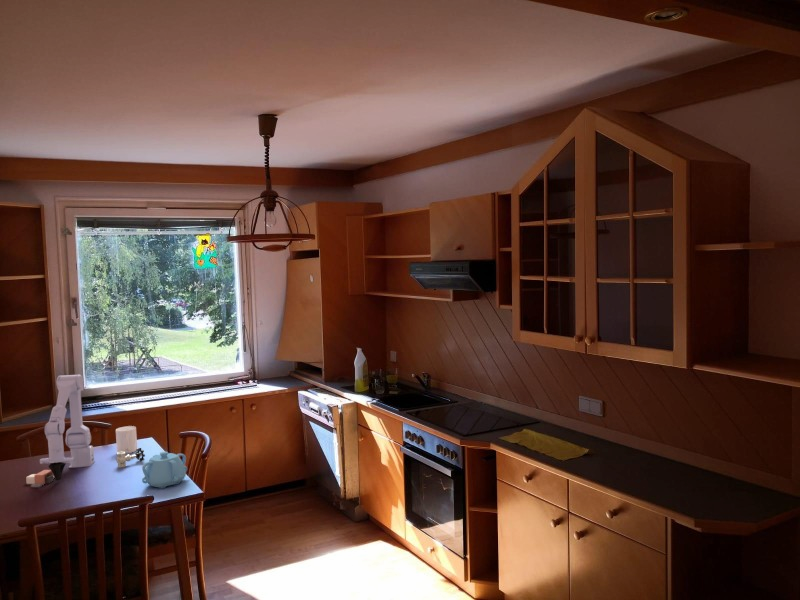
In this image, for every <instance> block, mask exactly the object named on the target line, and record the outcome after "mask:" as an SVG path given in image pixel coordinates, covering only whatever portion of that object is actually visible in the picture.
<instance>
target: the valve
mask: <svg viewBox="0 0 800 600" xmlns="http://www.w3.org/2000/svg"><path fill="white" fill-rule="evenodd" d="M144 451H145V450H144V449H142V447H137V449H136V451H135V452H134V453H135V454H131V455H130V454H125V452H119V453H117V452H116V463H117V467H118V468H119V469H122V468H121V467H123V468H125V467H126V466H127V462H130V461H131V460H134V459H135V458H136V460H138V461H140V462H143V461H145V458H144V457H146V454H145V453H144Z"/></svg>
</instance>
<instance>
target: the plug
mask: <svg viewBox="0 0 800 600" xmlns="http://www.w3.org/2000/svg"><path fill="white" fill-rule="evenodd" d="M36 474H37V473H32V474H29V475H28V476H26V485H32V484H34V483H35V477H34V475H36ZM53 476H54V474H53V475H47V476H45V484H50V482H51V483H53V482H54V480H53ZM52 481H53V482H52Z"/></svg>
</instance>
